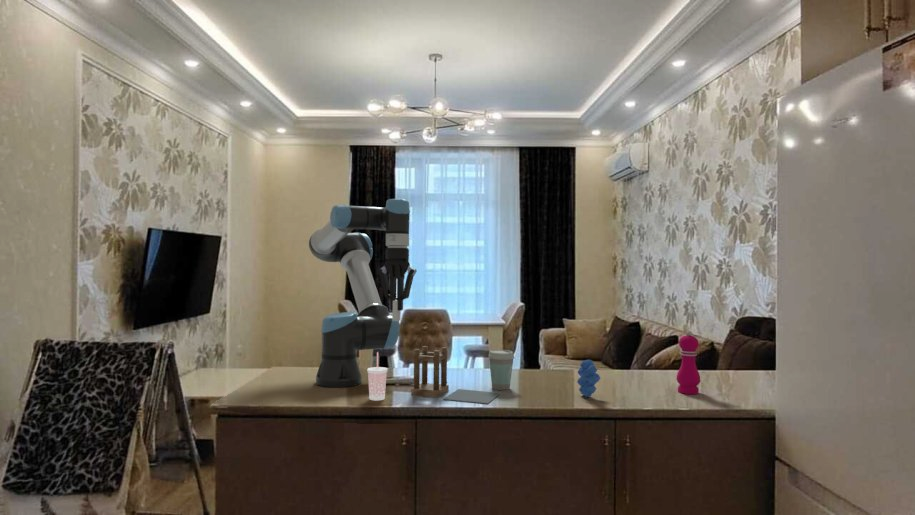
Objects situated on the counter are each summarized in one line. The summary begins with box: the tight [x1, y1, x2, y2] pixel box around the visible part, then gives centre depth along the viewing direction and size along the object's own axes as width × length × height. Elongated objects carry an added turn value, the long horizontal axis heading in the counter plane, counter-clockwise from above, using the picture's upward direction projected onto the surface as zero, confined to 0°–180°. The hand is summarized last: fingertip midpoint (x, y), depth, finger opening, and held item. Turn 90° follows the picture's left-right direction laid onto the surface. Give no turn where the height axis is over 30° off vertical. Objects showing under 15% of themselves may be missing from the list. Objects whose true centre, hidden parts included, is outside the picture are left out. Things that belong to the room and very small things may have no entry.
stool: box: [410, 345, 450, 398], centre depth 186 cm, size 9×9×14 cm
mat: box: [442, 388, 501, 405], centre depth 181 cm, size 14×14×1 cm
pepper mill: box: [675, 330, 701, 395], centre depth 191 cm, size 7×7×20 cm
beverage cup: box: [366, 351, 389, 401], centre depth 177 cm, size 6×6×14 cm
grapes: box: [576, 359, 601, 398], centre depth 182 cm, size 12×7×12 cm, turn 10°
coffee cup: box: [487, 349, 515, 391], centre depth 194 cm, size 9×8×12 cm
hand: (396, 320), depth 190 cm, fingers closed
